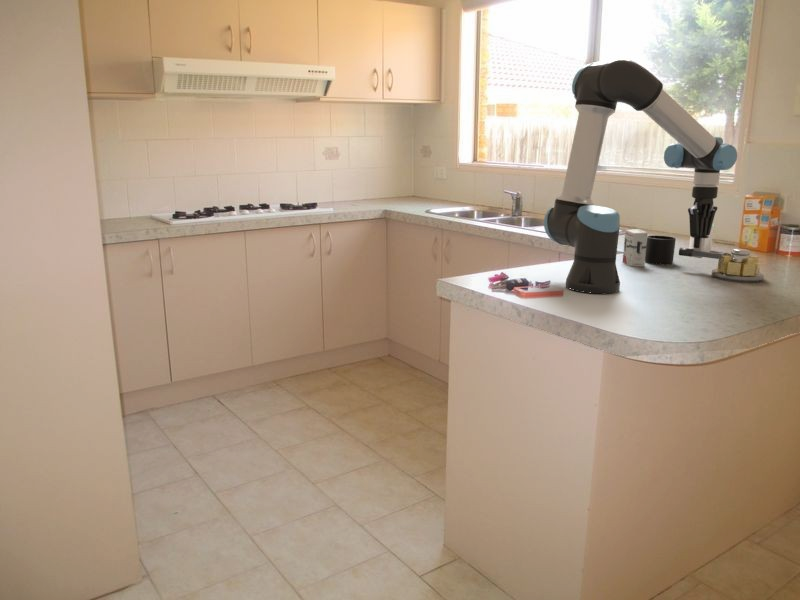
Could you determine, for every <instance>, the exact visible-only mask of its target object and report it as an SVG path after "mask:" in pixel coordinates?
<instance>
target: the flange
mask: <svg viewBox="0 0 800 600" xmlns="http://www.w3.org/2000/svg"><path fill="white" fill-rule="evenodd" d="M750 251H751V250H749V249H745V248H732V249H731V252H730V253H732V255H731V262H736V263H743V260H744V258H749V256H751V252H750ZM711 277H712V278H715V279H717V280H723V281H727V282H734V283H744V284H745V283H746V284H747V283H748V284H752V283H755V284H756V283H762V282H764V280H765V275H764V274H763V273H761V272H759V274H758V275H756V276H755V275H754V276H742V275H740V276H738V275H731V274H727V273H722V272H719V271H717V268H714V269H711Z"/></svg>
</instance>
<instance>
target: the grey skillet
mask: <svg viewBox="0 0 800 600" xmlns="http://www.w3.org/2000/svg"><path fill="white" fill-rule="evenodd" d="M731 255H732V253H731V252H722V253H720V252H712V251H710V252H704V251H696V250H694V249H689V247H688V248H686V247H685V248H684V247H680V248H679V249H678V256H680V257H681V256H682V257H689V258H690V257H691V258H693V256H698V257H702V258H705V259H706V258H708V259H717V260H718V262H717V268H716V269H717V271H719V272H722V273H727V274H731V275H738V276H740V275H742V276H754V275H755V276H756V275H758V274H759V273H760V269H761V262H760V261H759V258H760V257H759V256H758V255H749V258H744V260H743V263H736V262H731Z"/></svg>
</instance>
